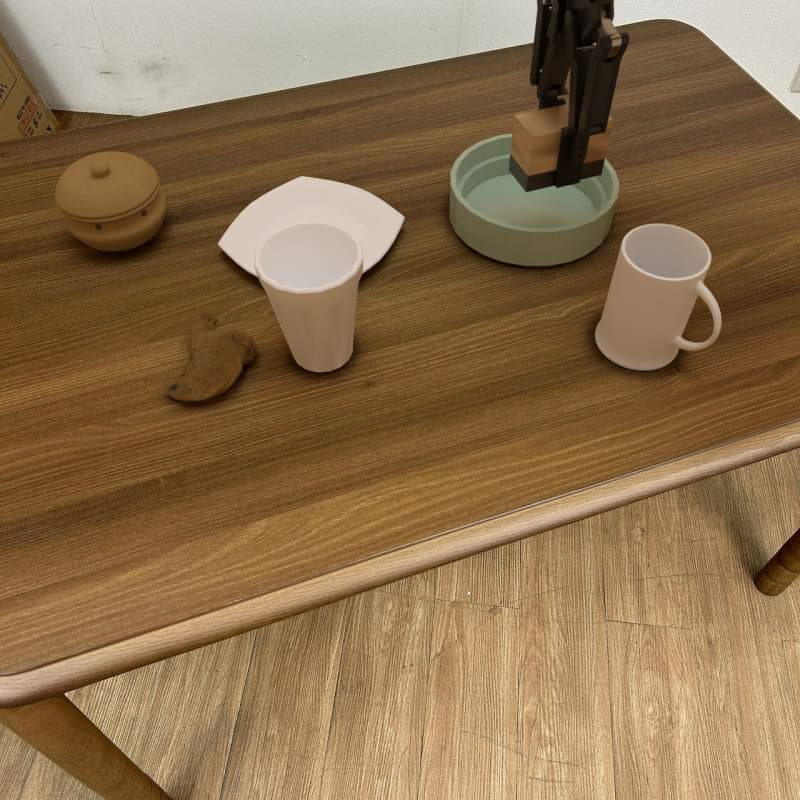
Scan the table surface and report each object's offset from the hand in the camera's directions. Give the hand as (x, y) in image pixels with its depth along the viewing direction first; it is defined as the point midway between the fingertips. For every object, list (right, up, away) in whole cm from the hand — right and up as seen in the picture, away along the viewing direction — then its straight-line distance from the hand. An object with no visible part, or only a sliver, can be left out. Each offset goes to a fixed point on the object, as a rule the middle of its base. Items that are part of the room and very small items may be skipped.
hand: (555, 169), depth 81 cm
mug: (+9, -20, -4) cm, 22 cm away
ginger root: (-37, -22, -4) cm, 43 cm away
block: (0, 0, 0) cm, 0 cm away
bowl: (-1, -3, +10) cm, 10 cm away
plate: (-27, -6, +8) cm, 29 cm away
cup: (-25, -20, -3) cm, 32 cm away
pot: (-50, -5, +10) cm, 51 cm away
